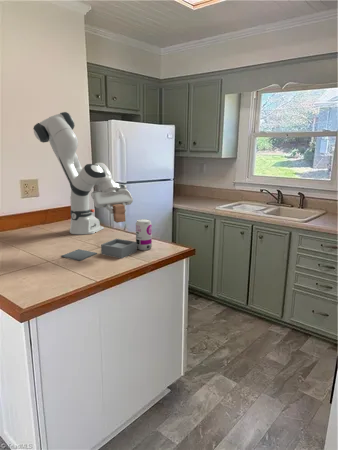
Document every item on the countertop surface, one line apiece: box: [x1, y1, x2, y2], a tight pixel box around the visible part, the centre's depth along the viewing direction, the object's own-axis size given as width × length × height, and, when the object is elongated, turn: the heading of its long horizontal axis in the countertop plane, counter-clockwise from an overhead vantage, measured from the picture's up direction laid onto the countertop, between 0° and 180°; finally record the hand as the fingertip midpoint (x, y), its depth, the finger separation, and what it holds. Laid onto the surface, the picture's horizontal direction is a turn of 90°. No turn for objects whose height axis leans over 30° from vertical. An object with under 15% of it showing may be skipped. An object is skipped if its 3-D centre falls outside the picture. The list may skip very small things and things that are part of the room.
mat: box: [60, 248, 98, 262], centre depth 163 cm, size 12×12×1 cm
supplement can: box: [135, 218, 153, 251], centre depth 174 cm, size 8×8×15 cm
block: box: [112, 204, 126, 223], centre depth 163 cm, size 4×4×8 cm
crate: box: [100, 238, 138, 259], centre depth 167 cm, size 13×13×6 cm
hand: (118, 212), depth 164 cm, fingers closed on block, 5 cm apart
